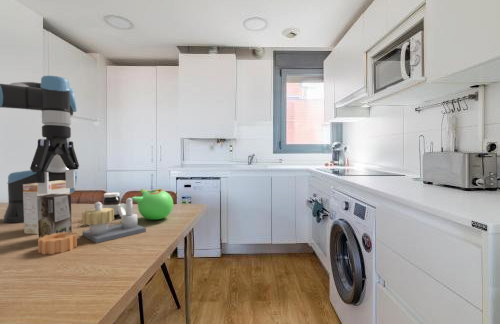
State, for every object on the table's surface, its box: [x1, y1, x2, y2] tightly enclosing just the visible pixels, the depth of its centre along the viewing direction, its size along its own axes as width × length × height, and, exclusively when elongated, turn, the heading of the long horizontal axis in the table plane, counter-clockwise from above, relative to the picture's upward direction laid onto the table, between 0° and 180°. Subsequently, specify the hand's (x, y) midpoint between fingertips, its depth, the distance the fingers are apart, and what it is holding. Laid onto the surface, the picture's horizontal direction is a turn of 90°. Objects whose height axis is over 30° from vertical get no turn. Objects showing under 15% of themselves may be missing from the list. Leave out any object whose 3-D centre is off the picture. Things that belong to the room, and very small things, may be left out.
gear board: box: [81, 197, 147, 244], centre depth 101 cm, size 14×20×13 cm
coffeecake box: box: [23, 180, 71, 235], centre depth 108 cm, size 15×7×20 cm, turn 168°
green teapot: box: [130, 188, 174, 221], centre depth 124 cm, size 18×17×15 cm
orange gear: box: [37, 231, 78, 255], centre depth 85 cm, size 10×10×4 cm
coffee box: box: [37, 193, 73, 239], centre depth 96 cm, size 9×6×16 cm
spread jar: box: [102, 192, 126, 219], centre depth 129 cm, size 12×11×12 cm
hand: (58, 190), depth 85 cm, fingers open, 13 cm apart
